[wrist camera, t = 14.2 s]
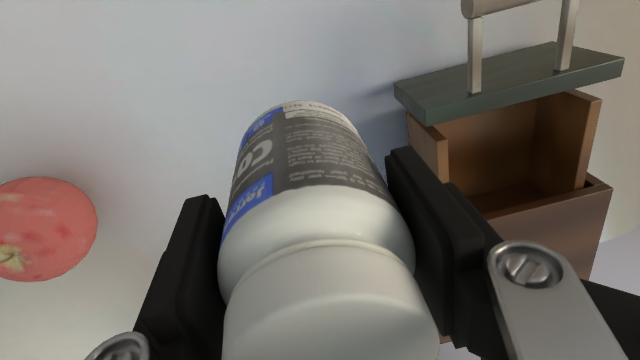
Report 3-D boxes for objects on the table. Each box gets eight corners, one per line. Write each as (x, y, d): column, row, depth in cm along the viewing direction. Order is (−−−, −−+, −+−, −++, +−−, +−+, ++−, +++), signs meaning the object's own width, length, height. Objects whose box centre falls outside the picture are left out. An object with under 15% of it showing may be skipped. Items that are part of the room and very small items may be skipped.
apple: (2, 212, 29) (-83, 286, 22) (26, 143, 26) (-62, 202, 19) (96, 245, 31) (47, 320, 24) (126, 186, 29) (81, 251, 22)
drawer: (383, -1, 23) (417, 6, 18) (563, -48, 23) (652, -56, 18) (407, 211, 33) (434, 257, 27) (535, 178, 32) (587, 218, 27)
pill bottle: (245, 86, 12) (202, 265, 4) (376, 110, 13) (512, 287, 5) (232, 202, 14) (190, 444, 7) (344, 214, 15) (411, 436, 8)
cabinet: (394, 179, 32) (429, 235, 25) (538, 141, 31) (614, 188, 25) (407, 279, 39) (437, 345, 32) (525, 249, 38) (581, 309, 32)
